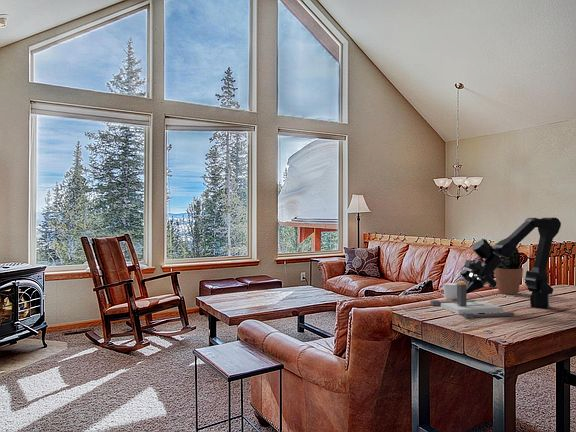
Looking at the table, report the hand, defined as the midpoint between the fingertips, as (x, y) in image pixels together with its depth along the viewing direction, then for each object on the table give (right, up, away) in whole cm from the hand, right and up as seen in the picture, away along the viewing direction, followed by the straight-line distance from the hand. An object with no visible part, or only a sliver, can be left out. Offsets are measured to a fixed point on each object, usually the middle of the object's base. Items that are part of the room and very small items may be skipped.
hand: (464, 293), depth 186 cm
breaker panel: (+3, -7, 0) cm, 8 cm away
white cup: (+4, -8, +28) cm, 30 cm away
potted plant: (+39, -7, +41) cm, 57 cm away
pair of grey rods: (+3, -7, 0) cm, 8 cm away
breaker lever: (-1, -5, 0) cm, 5 cm away
